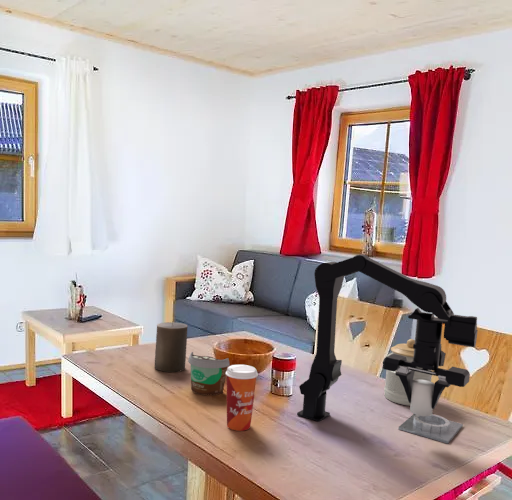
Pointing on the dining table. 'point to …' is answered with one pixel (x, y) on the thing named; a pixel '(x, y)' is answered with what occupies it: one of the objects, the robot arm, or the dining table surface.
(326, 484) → the dining table surface
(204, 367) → the food container
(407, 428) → the plate
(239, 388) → the paper cup
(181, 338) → the pillar candle
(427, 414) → the cylinder
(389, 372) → the jar
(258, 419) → the dining table surface
